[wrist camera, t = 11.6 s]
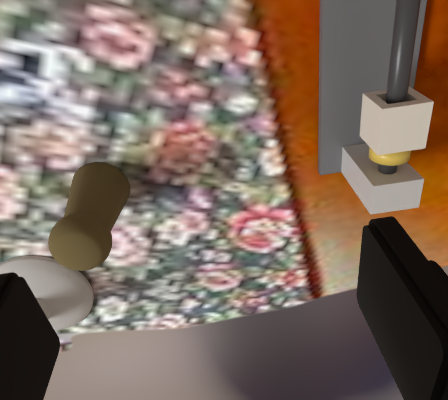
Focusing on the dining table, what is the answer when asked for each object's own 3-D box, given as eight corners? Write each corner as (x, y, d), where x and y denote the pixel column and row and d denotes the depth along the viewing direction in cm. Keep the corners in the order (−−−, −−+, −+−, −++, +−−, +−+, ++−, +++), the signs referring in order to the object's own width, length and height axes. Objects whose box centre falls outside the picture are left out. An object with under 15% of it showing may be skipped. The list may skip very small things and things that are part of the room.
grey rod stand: (321, -105, 29) (366, -125, 21) (439, -123, 29) (525, -149, 21) (318, 171, 42) (345, 218, 35) (399, 159, 42) (443, 203, 35)
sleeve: (362, 93, 33) (382, 109, 29) (408, 86, 33) (433, 101, 29) (359, 135, 35) (377, 155, 32) (402, 129, 35) (425, 148, 32)
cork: (140, 180, 41) (126, 246, 32) (114, 218, 43) (94, 290, 34) (86, 151, 39) (55, 214, 29) (62, 194, 41) (26, 264, 32)
